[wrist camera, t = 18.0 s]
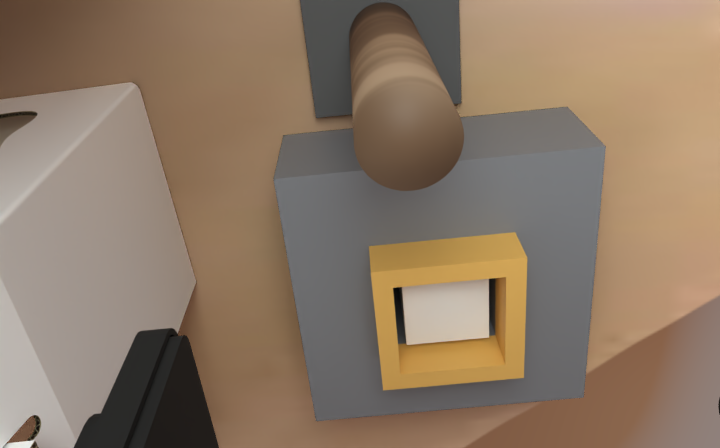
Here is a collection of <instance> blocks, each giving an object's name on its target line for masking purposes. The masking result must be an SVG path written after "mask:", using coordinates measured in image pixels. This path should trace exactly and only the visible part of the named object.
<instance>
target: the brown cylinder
mask: <svg viewBox="0 0 720 448" xmlns="http://www.w3.org/2000/svg"><path fill="white" fill-rule="evenodd" d="M349 46H350V69H351V91H352V114H353V137H354V150H355V154H356V157H357V160H358V162H359V164H360V166H361V168H362V169H363V170H364V172H365V173H366V174H367V175H368V176H369V177H370V178H371V179H372V180H374V181H375V182H377V183H378V184H380V185H382V186H384V187H387V188H390V189H393V190H398V191H414V190H420V189H423V188H427V187H429V186H431V185H433V184H435V183H437V182H439V181H440V180H441V179H443V178H444V177H445V176H446V175H447V174H448V173H449V172H450V171H451V170H452V169H453V168H454V166H455V165H456V163H457V162H458V159H459V157H460V155H461V152H462V149H463V144H464V129H463V125H462V121H461V119H460V116H459V114H458V112H457V110H456V108H455V106H454V104H453V102H452V100H451V98H450V96H449V94H448V92H447V89H446V87H445V85H444V83H443V81H442V79H441V77H440V75H439V73H438V71H437V69H436V67H435V65H434V63H433V61H432V59H431V57H430V55H429V53H428V51H427V49H426V46H425V44H424V42H423V40H422V38H421V36H420V34H419V32H418V30H417V28H416V26H415V24H414V22H413V20H412V18H411V17H410V15H409V14H408V13H407V12H406V11H405V10H404V9H403V8H401V7H399V6H398V5H395V4H392V3H387V2H380V3H375V4H371V5H369V6H367V7H366V8H364V9H363V10H362V11H360V12H359V13H358V14H357V16H356V17H355V19H354V20H353V22H352V25H351V27H350V32H349Z"/></svg>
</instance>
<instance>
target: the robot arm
mask: <svg viewBox="0 0 720 448" xmlns="http://www.w3.org/2000/svg"><path fill="white" fill-rule="evenodd" d="M719 413H720V399H719ZM74 448H219V446H218V443H217V439H216V435H215V432H214V428H213V425H212V421H211V417H210V414H209V410H208V407H207V403H206V400H205V396H204V392H203V389H202V385H201V382H200V378H199V375H198V371H197V367H196V364H195V360H194V357H193V353H192V350H191V346H190V342H189V340H188V338H187V336H185V335H183V336H178V334H177V332H176V331H175V329H173V328H166V329H155V330H144V331H140V332H138V333H137V335H136V336H135V338H134V340H133V343H132V345H131V347H130V349H129V352H128V354H127V356H126V358H125V360H124V363H123V365H122V367H121V369H120V372H119V374H118V376H117V378H116V380H115V383H114V385H113V387H112V389H111V392H110V394H109V396H108V398H107V401H106V403H105V405H104V407H103V409H102V412H101V413H99V414H93V415H92V416H91V417H89V418H88V420H87V421H86V423H85V425H84V426H83V429H82V431H81V433H80V435H79V437H78V439H77V441H76V443H75V446H74Z"/></svg>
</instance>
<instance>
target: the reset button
mask: <svg viewBox="0 0 720 448" xmlns="http://www.w3.org/2000/svg"><path fill="white" fill-rule="evenodd" d="M399 292H400V300H401V307H402V314H403V322H404V329H405V337H406V344H407V345H413V344H424V343H435V342H446V341H456V340H467V339H478V338H489V279H481V280H470V281H460V282H449V283H438V284H428V285H417V286H407V287H399Z"/></svg>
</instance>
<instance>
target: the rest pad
mask: <svg viewBox="0 0 720 448" xmlns="http://www.w3.org/2000/svg"><path fill="white" fill-rule="evenodd" d="M380 2H387V3H392V4H395V5H398V6H399V7H401V8H403V9H404V10H405V11H406V12H407V13H408V14H409V15H410V17H411V18H412V20H413V22H414V24H415V26H416V28H417V30H418V32H419V34H420V36H421V38H422V40H423V42H424V44H425V46H426V49H427V51H428V53H429V55H430V57H431V59H432V61H433V63H434V65H435V67H436V69H437V71H438V73H439V75H440V77H441V79H442V81H443V83H444V85H445V87H446V89H447V92H448V94H449V96H450V98H451V100H452V102H453V104H458V103H461V72H460V31H459V0H300V3H301V10H302V17H303V25H304V32H305V40H306V47H307V54H308V62H309V69H310V77H311V84H312V91H313V99H314V106H315V114H316V118H319V117H329V116H339V115H349V114H352V91H351V69H350V46H349V32H350V27H351V25H352V22H353V20H354V19H355V17H356V16H357V14H358V13H359V12H360V11H362V10H363V9H364V8H366V7H367V6H369V5H371V4H375V3H380Z"/></svg>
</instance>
